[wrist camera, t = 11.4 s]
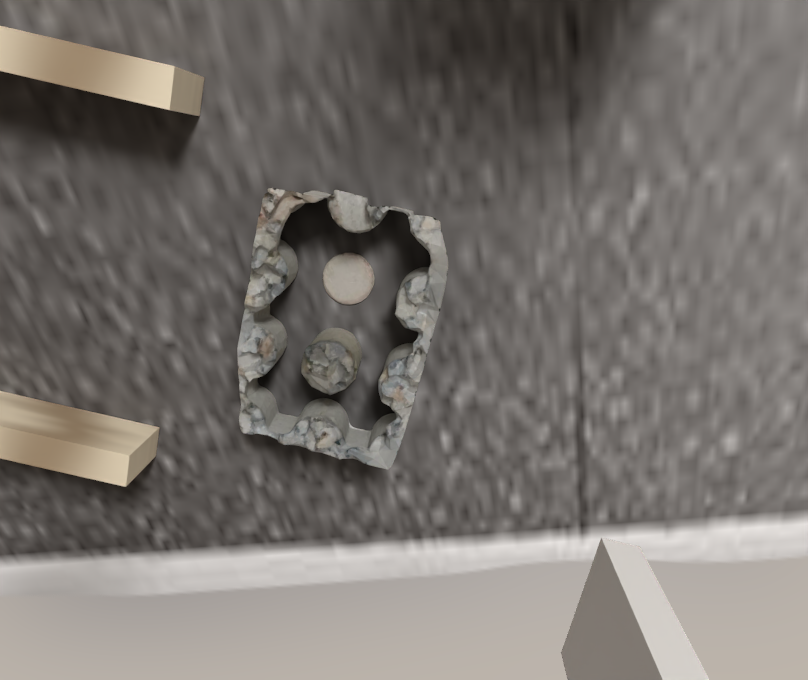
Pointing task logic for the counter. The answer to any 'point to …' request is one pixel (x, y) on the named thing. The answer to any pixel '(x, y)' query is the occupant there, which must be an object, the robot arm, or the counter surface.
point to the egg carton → (335, 332)
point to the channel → (44, 421)
